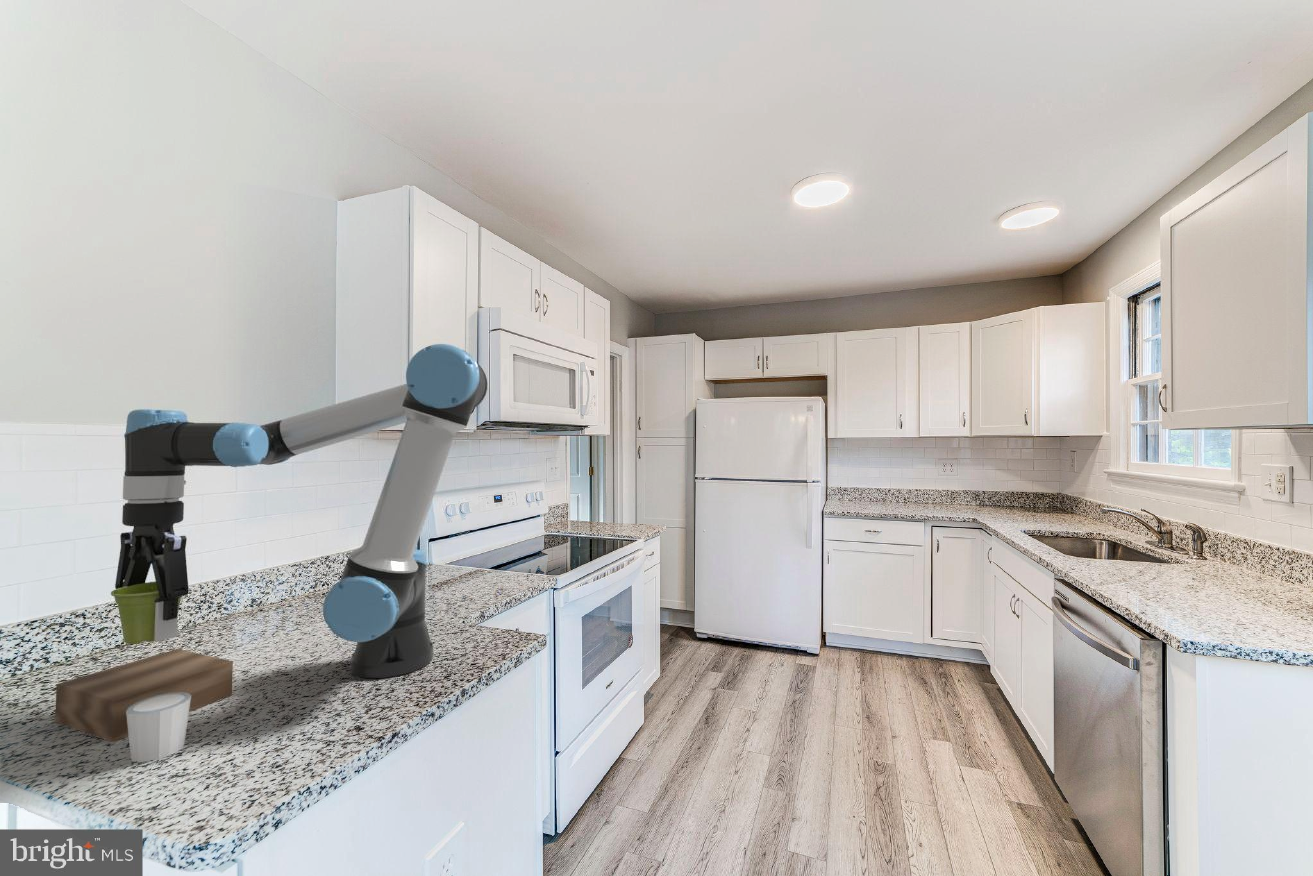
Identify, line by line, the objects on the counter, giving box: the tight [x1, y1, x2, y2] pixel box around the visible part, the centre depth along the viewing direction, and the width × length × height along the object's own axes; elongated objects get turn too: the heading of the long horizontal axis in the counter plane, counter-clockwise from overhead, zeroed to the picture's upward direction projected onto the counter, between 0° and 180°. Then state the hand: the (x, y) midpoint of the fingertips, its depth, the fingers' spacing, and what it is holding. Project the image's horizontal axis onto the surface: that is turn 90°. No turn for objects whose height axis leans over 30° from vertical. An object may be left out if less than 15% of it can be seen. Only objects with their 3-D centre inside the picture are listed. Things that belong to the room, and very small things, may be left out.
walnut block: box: [54, 648, 234, 743], centre depth 89 cm, size 16×16×6 cm
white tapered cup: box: [126, 692, 191, 763], centre depth 76 cm, size 7×7×7 cm
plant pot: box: [110, 580, 182, 645], centre depth 89 cm, size 9×9×9 cm
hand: (149, 635), depth 89 cm, fingers closed on plant pot, 8 cm apart
